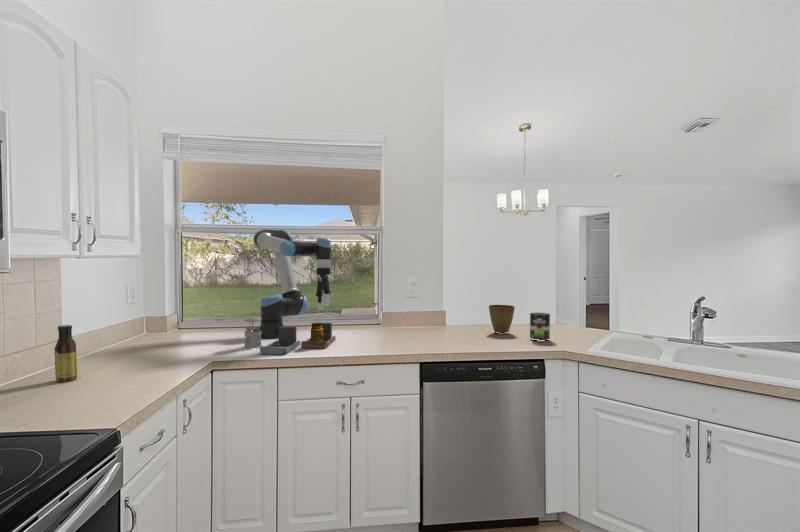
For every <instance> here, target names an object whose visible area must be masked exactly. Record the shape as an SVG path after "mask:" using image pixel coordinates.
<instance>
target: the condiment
mask: <svg viewBox="0 0 800 532" xmlns="http://www.w3.org/2000/svg"><path fill="white" fill-rule="evenodd" d="M322 323H323V322H311V328H310V338H311V341H323V328H322Z"/></svg>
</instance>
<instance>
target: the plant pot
mask: <svg viewBox="0 0 800 532" xmlns="http://www.w3.org/2000/svg"><path fill="white" fill-rule="evenodd" d="M488 310H489V311H488V312H489V316H490V322H491V326H492V328H493V331H495V332H499V333H505V332H508V333H509V331H510V329H511V326H512V322H513V318H514V314H515V306H514V305H509V304H490V305H488ZM495 332H494V333H495Z"/></svg>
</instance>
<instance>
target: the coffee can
mask: <svg viewBox="0 0 800 532" xmlns="http://www.w3.org/2000/svg"><path fill="white" fill-rule="evenodd" d="M529 315H530V316H529V317H530V318H529V339H530V338H533V339H539V340H547V339H550V338H551V337H550V334H551V333H550V330H551V329H550V327H551V320H550V319H551V318H550V317H551V314H550V313H547V312H530V313H529Z"/></svg>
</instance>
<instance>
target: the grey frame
mask: <svg viewBox="0 0 800 532" xmlns="http://www.w3.org/2000/svg"><path fill="white" fill-rule="evenodd" d="M278 332H279V338H278V339H277V340H275V341H273V342H271V343H269V344H267V345H266V346H264V345H262V346H261V347H260V348H259V354H260V355H261V354H262V355H264V354H265V355H287V354H289V353H290V352H291V351H293V350H295V349H296V348H298V347H299V346H300V345H301V340H297V326H286V325H283V326H281V327H279V328H278Z"/></svg>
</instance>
